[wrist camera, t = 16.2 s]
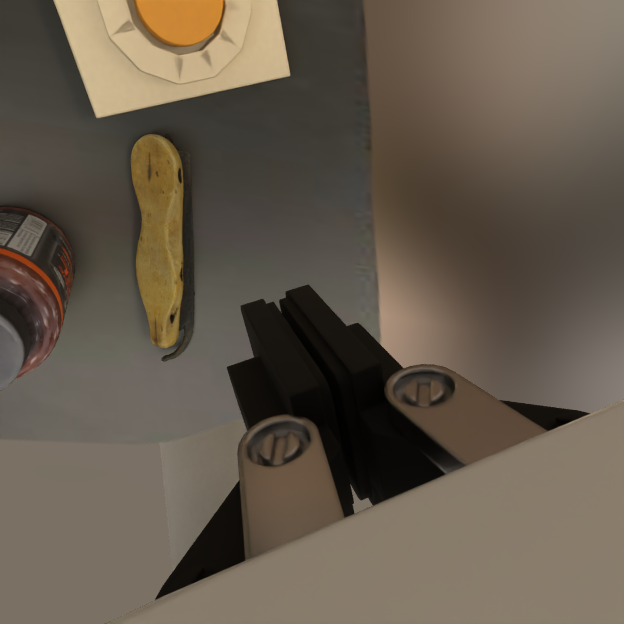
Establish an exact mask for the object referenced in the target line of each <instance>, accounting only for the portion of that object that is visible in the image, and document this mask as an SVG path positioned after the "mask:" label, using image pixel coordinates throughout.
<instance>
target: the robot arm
mask: <svg viewBox="0 0 624 624" xmlns="http://www.w3.org/2000/svg"><path fill="white" fill-rule="evenodd" d="M279 302H280V308H281V312H282V313H281V312H280V311H279V309H278V308H277V306H276V305H275V303H274V302H271V303H268V304H266V303H265V301H264V300H263V299H260V300H257V301H254V302H251V303H248V304H244V305H241V312H242V315H243V319H244V322H245V326H246V330H247V333H248V337H249V340H250V344H251V347H252V351H253V354H254V358H252V359H249V360H246V361H243V362H240V363H237V364H234V365H231V366H228V367H227V370H228V373H229V376H230V380H231V383H232V386H233V389H234V392H235V395H236V399H237V402H238V405H239V408H240V411H241V414H242V417H243V420H244V423H245V426H246V429H247V432H246V433H245V434H244V436H243V437H242V439H241V441H240V443H239V446H238V466H239V481H238V483H237V484H236V485H235V487H234V488H233V489H232V491H231V492H230V494H229V495H228V496H227V498H226V499H225V501H224V502H223V503H222V505H221V506H220V507H219V509H218V510H217V512H216V513H215V514H214V516H213V517H212V518H211V520H210V521H209V523H208V524H207V525H206V527H205V528H204V530H203V531H202V532H201V534H200V535H199V536H198V538H197V539H196V541H195V542H194V543H193V545H192V546H191V547H190V549H189V550H188V552H187V553H186V554H185V556H184V557H183V559H182V560H181V561H180V563H179V564H178V565H177V567H176V568H175V570H174V571H173V572H172V574H171V575H170V576H169V578H168V579H167V581H166V582H165V583H164V585H163V587H162V588H161V590H160V592H159V593H158V595H157V597H156V599H155V600H154V601H152V602H150V603H148V604H146V605H144V606H142V607H140V608H137V609H135V610H133V611H131V612H129V613H127V614H125V615H123V616H121V617H118V618H116V619H114V620H112V621H110V622H108V623H106V624H624V400H622V401H620V402H617V403H615V404H612V405H610V406H608V407H605V408H603V409H601V410H598V411H596V412H594V413H586V412H582V411H577V410H570V409H562V408H555V407H547V406H540V405H532V404H525V403H517V402H510V401H502V400H498V399H496V398H495V397H493V396H492V395H490V394H489V393H487V392H485V391H484V390H482V389H481V388H479V387H478V386H476V385H474V384H473V383H471V382H470V381H468V380H467V379H465V378H463V377H462V376H460V375H459V374H457V373H456V372H454V371H452V370H450V369H448V368H445V367H442V366H437V365H426V364H425V365H424V364H421V365H414V366H410V367H407V368H403V367H402V366H401V365H400V364H399V363H398V362H397V361H396V360H395V359H394V358H393V357H392V356H391V355H390V354H389V353H388V352H387V351H386V350H385V349H384V348H383V347H382V346H381V345H380V344H379V343H378V342H377V341H376V340H375V339H374V338H373V337H372V336H371V335H370V334H369V333H368V332H367V331H366V330H365V329H364V328H363V327H362V326H361V325H360V324H359V323H355V324H352V325H349V326H346V325H345V324H344V323H343V322H342V321H341V319H340V318H339V317H338V316H337V315H336V314H335V313H334V312H333V311H332V310H331V309H330V307H329V306H328V305H327V304H326V303H325V302H324V301H323V300H322V299H321V298H320V297H319V296H318V294H317V293H316V292H315V291H314V290H313V289H312V288H311V287H310V286H309V285H305V286H302V287H298V288H295V289H292V290H289V291H286V298H283V299H280V301H279ZM350 484H351V486H352V488H353V489H354V491H355V493H356V494H357V496H358V498H359V499H360V500H363V499H366V498H369V500H370V502H371V503H372V505H373V506H371V507H369V508H366V509H364V510H362V511H360V512H357V513H355V514H354V509H353V505H352V504H353V503H354V501H353V495H352V490H351V486H350Z"/></svg>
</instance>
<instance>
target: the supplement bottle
mask: <svg viewBox="0 0 624 624" xmlns="http://www.w3.org/2000/svg"><path fill="white" fill-rule="evenodd" d="M74 273H75V266H74V256H73V252H72V249H71V246H70V244H69V242H68V240H67V239H66V237H65V236H64V234H63V233H62V232H61V230H60V229H59V228H58V227H57V226H56V225H55V224H53V223H52V222H51V221H49V220H48V219H46V218H44V217H43V216H41V215H39V214H37V213H34V212H32V211H29V210H26V209H21V208H16V207H0V390H2V389H4V388H5V387H7V386H8V385H9V384H10V383H11V382H12V381H13V380H14V379H16V378H19V377H21V376H23V375H24V374H26V373H28V372H30V371H32V370H33V369H35V368H36V367H37V366H39V365H40V364H41V363H42V362H43V361H44V360H45V359H46V358H47V357H48V356H49V354H50V353H51V351H52V350H53V348H54V347H55V344H56V342H57V340H58V337H59V334H60V331H61V327H62V325H63V320H64V315H65V312H66V308H67V303H68V298H69V295H70V290H71V286H72V282H73V278H74Z"/></svg>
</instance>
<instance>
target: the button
mask: <svg viewBox="0 0 624 624" xmlns="http://www.w3.org/2000/svg"><path fill="white" fill-rule="evenodd" d="M134 5H135V9H136V12H137V15H138V17H139V19H140V21H141V22H142V24H143V25H144V27H145V28H146V29H147V31H148V32H149V33H150V34H151V35H152V36H154V37H155V38H156V39H158V40H159V41H161V42H163V43H165V44H167V45H170V46H175V47H188V46H192V45H195V44H197V43H200V42H202V41H204V40H205V39H207V38H208V37H209V36H210V35H211V34H212V33H213V32H214V31H215V29H216V28H217V26H218V24H219V22H220V19H221V16H222V12H223V0H134Z"/></svg>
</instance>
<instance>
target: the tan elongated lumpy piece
mask: <svg viewBox="0 0 624 624" xmlns="http://www.w3.org/2000/svg"><path fill="white" fill-rule="evenodd" d="M189 159H190V158H189V153H188V152H186V151H178V150H176V148H175V147H174V146H173V141H172V138H171V137H170V136H169V135H168V134H166V135H165V138H164V137H162V136H160V135H157V134H147V135H144V136H143V137H141V138H140V139H139V140H138V141H137V142H136V143H135V145H134V147H133V150H132V154H131V172H132V181H133V185H134V188H135V192H136V195H137V199H138V202H139V206H140V210H141V214H142V227H141V233H140V238H139V242H138V247H137V254H136V275H137V281H138V285H139V290H140V294H141V298H142V300H143V303H144V306H145V309H146V313H147V316H148V322H149V328H150V337H151V342H152V343H153V344H154V345H156V346H159V347H161V348H167V347H170V346H172V345H174V344H175V343H176V341H177V339H178V332H179V331H181V330H182V329H183V328H184V338H183V341H182V343H181V344H180V346H179V347H178V348H177V349H176V350H175V351H174V352H173V353H171V354H169V355H165V356H163V357H162V359H161V360H162V361H163V362H165V361H167V360H169V359H174V358H176V357H178V356H179V355H180V354H181V353H182V352H184V350H185V349H186V348H187V346H188V344H189V342H190V340H191V337H192V333H193V326H194V294H195V293H194V246H193V221H192V198H191V173H190V161H189Z"/></svg>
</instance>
